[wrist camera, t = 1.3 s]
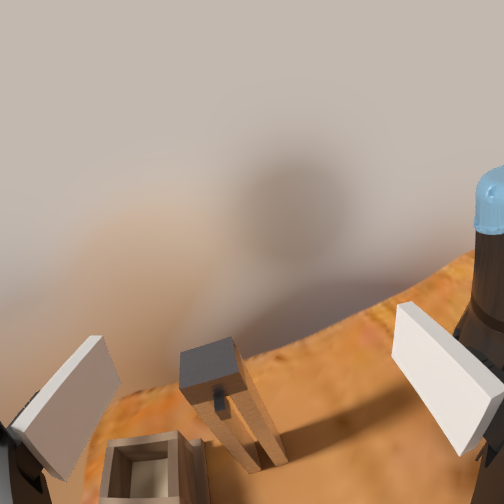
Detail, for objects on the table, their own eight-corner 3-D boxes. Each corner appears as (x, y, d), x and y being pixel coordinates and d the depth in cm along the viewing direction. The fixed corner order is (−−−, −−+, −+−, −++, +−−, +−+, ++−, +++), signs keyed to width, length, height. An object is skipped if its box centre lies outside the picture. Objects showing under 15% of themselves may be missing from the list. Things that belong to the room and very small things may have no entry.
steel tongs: (279, 434, 27) (231, 336, 22) (291, 471, 22) (241, 384, 16) (243, 445, 27) (180, 352, 21) (251, 482, 22) (178, 402, 16)
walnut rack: (204, 441, 29) (185, 421, 27) (213, 525, 17) (190, 514, 16) (125, 453, 28) (103, 434, 26) (119, 526, 17) (90, 512, 15)
